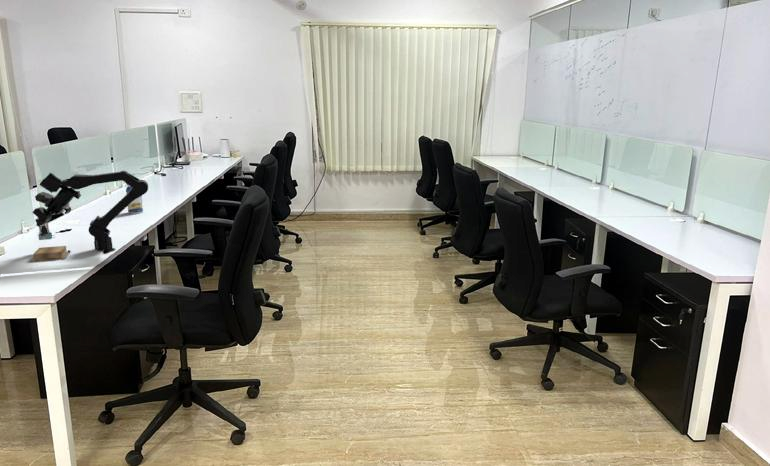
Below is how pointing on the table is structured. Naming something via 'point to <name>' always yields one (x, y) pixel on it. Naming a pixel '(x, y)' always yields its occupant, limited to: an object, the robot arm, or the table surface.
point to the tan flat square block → (50, 253)
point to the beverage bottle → (134, 204)
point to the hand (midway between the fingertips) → (41, 224)
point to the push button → (44, 231)
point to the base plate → (54, 259)
